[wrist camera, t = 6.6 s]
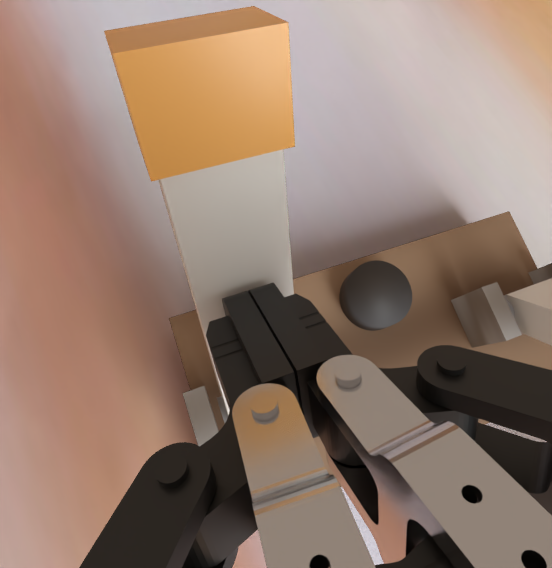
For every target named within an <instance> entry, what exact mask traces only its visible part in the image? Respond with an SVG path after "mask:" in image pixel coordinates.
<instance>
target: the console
mask: <svg viewBox="0 0 552 568" xmlns="http://www.w3.org/2000/svg"><path fill="white" fill-rule="evenodd" d="M550 278H552V263H551V264H549V265H546V266H544V267H541V268H539V269H537V267H536V265H535V263H534V261H533V259H532V257H531V255H530V253H529V250H528V248H527V246H526V244H525V242H524V240H523V238H522V236H521V234H520V232H519V230H518V228H517V226H516V224H515V222H514V220H513V218H512V216H511V214H510V212H505V213H502V214H499V215H496V216H493V217H489V218H486V219H483V220H480V221H477V222H474V223H470V224H467V225H464V226H461V227H458V228H454V229H451V230H448V231H445V232H442V233H439V234H435V235H432V236H429V237H426V238H423V239H419V240H416V241H413V242H410V243H407V244H404V245H400V246H397V247H394V248H391V249H388V250H384V251H381V252H378V253H375V254H372V255H369V256H365V257H362V258H359V259H356V260H353V261H350V262H346V263H343V264H340V265H337V266H334V267H330V268H327V269H324V270H321V271H318V272H315V273H311V274H308V275H305V276H302V277H299V278H295V279H293V289H294V294H298V295H300V296H302V297H304V298H306V299H308V300H310V301H311V302H312V303H313V305H314V306H315V307H316V308H317V310H318V311H319V314H321V315H322V316H323V317H324V319H325V320H326V323H327V322H328V324H329V325H330V326H331V327H332V329H333V330H334V331H335V333H336V334H337V335H338V336H339V338H340V339H341V340H342V341H343V343H344V344H345V345H346V346H347V348H348V349H349V350H350V351H351V353H352V354H353V355H357V356H361V357H364V358H366V359H368V360H370V361H371V362H372V363H374V364H375V365H376V366H377V367H378V368H401V367H411V366H417V361H418V358H419V356H420V355H421V354H422V353H423V352H424V351H425V350H427V349H429V348H431V347H434V346H439V345H453V346H458V347H462V348H466V349H470V350H474V351H478V352H482V353H486V354H490V355H494V356H498V357H502V358H506V359H510V360H514V361H518V362H522V363H526V364H530V365H533V366H537V367H541V368H545V369H549V370H552V346H551V345H549V344H547V343H544V342H542V341H540V340H537V339H535V338H533V337H530V336H528V335H525V334H523V333H521V331H520V329H519V327H518V325H517V323H516V321H515V319H514V316H513V314H512V312H511V310H510V308H509V306H508V304H507V302H506V300H505V297H504V295H506V294H509V293H512V292H515V291H517V290H520V289H523V288H526V287H528V286H531V285H534V284H537V283H539V282H542V281H545V280H548V279H550ZM169 320H170V324H171V327H172V330H173V334H174V337H175V340H176V343H177V347H178V350H179V353H180V357H181V360H182V363H183V366H184V370H185V373H186V376H187V380H188V383H189V386H190V389H191V390H190V391H188V392H185V393H183V397H184V400H185V403H186V407H187V410H188V413H189V417H190V420H191V423H192V427H193V430H194V433H195V437H196V440H197V443H198V446H199V447H200V446H201V445H202V444H204V443H205V442H206V441H208V440H209V439H211V438H212V437H213V436H214V435H216V434H217V433H218V432H219V431H220V430H221V428H222V427H223V426H224V424H225V423H224V420H223V417H222V413H221V410H220V407H219V404H218V401H217V398H218V397H220V396H221V393H220V390H219V386H218V383H217V379H216V376H215V372H214V369H213V366H212V362H211V359H210V355H209V352H208V348H207V345H206V342H205V338H204V335H203V331H202V328H201V324H200V321H199V318H198V314H197V311H196V310H194V311H190V312H187V313H184V314H181V315H178V316H175V317H171V318H169ZM478 423H481V424H484V425H485V424H487V423H489V422H488V421H485V420H482V419H479V421H478ZM313 439H314V441H315V444H316V446H317V449H318V451H319V453H320V456H321V458H322V460H323V463H324V465H325V467H326V470H327V472H328V473H329V475H331V474H332V475H334V473H333V471H332V470H331V468H330V467H329V465H328V463H327V459H326V451H325V446H324V445H323V443H322V441H321V439H320V437H319V436H318V437H316V438H313ZM334 477H335V478H336V476H335V475H334ZM336 480H337V481H338V479H337V478H336ZM338 483H339V485H340V487H342V486H341V484H340V482H339V481H338Z"/></svg>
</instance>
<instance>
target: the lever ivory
mask: <svg viewBox="0 0 552 568" xmlns="http://www.w3.org/2000/svg"><path fill="white" fill-rule="evenodd" d="M504 297H505V300H506V302H507V304H508V306H509V308H510V310H511V312H512V314H513V316H514V319H515V321H516V323H517V325H518V327H519V329H520V331H521V333H523V334H525V335H528V336H530V337H533V338H535V339H537V340H540V341H542V342H544V343H547V344H549V345H551V346H552V278H550V279H548V280H545V281H542V282H539V283H537V284H534V285H531V286H528V287H526V288H523V289H520V290H517V291H515V292H512V293H509V294H506V295H504Z"/></svg>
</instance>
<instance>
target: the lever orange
mask: <svg viewBox="0 0 552 568" xmlns="http://www.w3.org/2000/svg"><path fill="white" fill-rule="evenodd" d="M104 32H105V35H106V39H107V42H108V45H109V49H110V52H111V55H112V58H113V62H114V65H115V68H116V71H117V75H118V78H119V81H120V84H121V88H122V91H123V94H124V97H125V101H126V104H127V107H128V111H129V114H130V117H131V120H132V124H133V127H134V130H135V133H136V137H137V140H138V143H139V146H140V149H141V152H142V155H143V158H144V161H145V164H146V167H147V170H148V173H149V176H150V179H151V181H155V180H159V184H160V187H161V191H162V194H163V197H164V201H165V204H166V208H167V211H168V215H169V218H170V221H171V225H172V228H173V232H174V235H175V239H176V242H177V245H178V249H179V252H180V256H181V259H182V263H183V266H184V269H185V273H186V276H187V280H188V283H189V287H190V290H191V294H192V297H193V300H194V304H195V307H196V311H197V314H198V318H199V321H200V324H201V328H202V331H203V335H204V338H205V342H206V345H207V348H208V352H209V355H210V359H211V362H212V366H213V369H214V372H215V376H216V379H217V383H218V386H219V390H220V393H221V396H220V397H218V398H217V401H218V404H219V407H220V410H221V413H222V417H223V420H224V423H225V422H226V421H227V418H228V416H229V411H230V410H229V407H228V404H227V401H226V398H225V395H224V392H223V389H222V387H221V384H220V381H219V378H218V375H217V372H216V368H215V365H214V361H213V358H212V355H211V351H210V348H209V344H208V341H207V338H206V332H207V329H208V325H209V322H210V321H213V320H216V319H219V318H222V317H225V316H226V315H225V311H224V308H223V303H222V298H225V297H228V296H232V295H235V294H238V293H241V292H244V291H248V290H251V289H254V288H257V287H260V286H263V285H267V284H270V283H274V284H275V285H276V286H277V288H278V289H279V291H280V292H281V293H282V295H283V296H284V297H287V296H290V295H293V294H294V289H293V275H292V261H291V247H290V233H289V219H288V205H287V191H286V177H285V163H284V149H286V148H290V147H295V139H294V120H293V101H292V82H291V63H290V44H289V26H288V22H286V21H284V20H282V19H280V18H278V17H276V16H274V15H272V14H270V13H268V12H265V11H263V10H261V9H259V8H257V7H255V6H251V7H245V8H239V9H233V10H227V11H221V12H215V13H209V14H203V15H197V16H191V17H185V18H179V19H173V20H167V21H161V22H155V23H149V24H143V25H137V26H131V27H125V28H119V29H113V30H107V31H104Z"/></svg>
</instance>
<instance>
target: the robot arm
mask: <svg viewBox="0 0 552 568" xmlns="http://www.w3.org/2000/svg"><path fill="white" fill-rule="evenodd" d="M222 303H223V308H224V311H225V315H226V316H225V317H222V318H219V319H216V320H213V321H210V322H209V325H208V329H207V332H206V338H207V341H208V344H209V348H210V351H211V355H212V358H213V361H214V365H215V368H216V372H217V375H218V378H219V381H220V384H221V387H222V389H223V392H224V395H225V398H226V401H227V404H228V407H229V410H230V411H229V416H228V418H227V421H226V422H225V424H224V426H223V427H222V428H221V430H220V431H219V432H218V433H217V434H216V435H214V436H213V437H212V438H211V439H209V440H208V441H206V442H205V443H204V444H202V445H201V446H200V447H199V446H198V445H196V444H192V443H186V442H184V443H175V444H172V445H169V446H166V447H164V448H162V449H160V450H159V451H157V452H156V453H155V454H153V455H152V456H151V457H150V458H149V459H148V460H147V461H146V463H145V464H144V465H143V467H142V468H141V470H140V472H139V473H138V475H137V476H136V478H135V480H134V481H133V483H132V484H131V486H130V488H129V489H128V491H127V492H126V494H125V496H124V497H123V499H122V500H121V502H120V504H119V505H118V507H117V508H116V510H115V511H114V513H113V515H112V516H111V518H110V519H109V521H108V523H107V524H106V526H105V527H104V529H103V531H102V532H101V534H100V535H99V537H98V539H97V540H96V542H95V543H94V545H93V547H92V548H91V550H90V551H89V553H88V555H87V556H86V558H85V559H84V561H83V563H82V564H81V566H80V567H79V568H232V567H233V564H234V561H235V559H236V555H237V552H238V546H240V545H241V544H242V543H243V542H244V541H245V540H246V539H247V538H248V537H250V536H251V535H252V534H253V533H254V532H255V531H256V530H257V529H258V531H259V536H260V540H261V544H262V548H263V553H264V557H265V561H266V565H267V568H552V370H549V369H545V368H541V367H537V366H533V365H530V364H526V363H522V362H518V361H514V360H510V359H506V358H502V357H498V356H494V355H490V354H486V353H482V352H478V351H474V350H470V349H466V348H462V347H458V346H453V345H439V346H434V347H431V348H429V349H427V350H425V351H424V352H423V353H422V354H421V355H420V356H419V358H418V361H417V366H411V367H401V368H378V367H377V366H376V365H375V364H374V363H372V362H371V361H370V360H368V359H366V358H364V357H361V356H357V355H353V354H352V353H351V351H350V350H349V349H348V348H347V346H346V345H345V344H344V343H343V341H342V340H341V339H340V338H339V336H338V335H337V334H336V333H335V331H334V330H333V329H332V327H331V326H330V325H329V324H328V322H327V323H326V320H325V319H324V317H323V316H322V315H321V314H319V311H318V310H317V308H316V307H315V306H314V305H313V303H312V302H311V301H310V300H308V299H306V298H304V297H302V296H300V295H298V294H293V295H290V296H287V297H284V296H283V295H282V293H281V292H280V291H279V289H278V288H277V286H276V285H275V284H274V283H270V284H267V285H263V286H260V287H257V288H254V289H251V290H248V291H244V292H241V293H238V294H235V295H232V296H228V297H225V298H222ZM479 419H482V420H485V421H488V422H491V423H494V424H497V425H500V426H503V427H506V428H509V429H513V430H516V431H519V432H522V433H525V434H528V435H531V436H534V437H537V438H540V439H543V440H545V441H547V442H536V441H532V440H529V439H526V438H523V437H520V436H517V435H514V434H511V433H508V432H505V431H502V430H499V429H496V428H493V427H490V426H487V425H484V424H481V423H478V421H479ZM318 436H319V437H320V439H321V441H322V443H323V445H324V446H325V451H326V459H327V463H328V465H329V467H330V468H331V470H332V471H333V473H334V475H335V476H336V478H337V479H338V481H339V482H340V484H341V486H342V487H343V489H344V490H345V492H346V493H347V495H348V497H349V498H350V500H351V501H352V503H353V504H354V506H355V507H356V509H357V511H358V512H359V514H360V515H361V517H362V518H363V520H364V522H365V523H366V525H367V526H368V528H369V529H370V531H371V533H372V535H373V537H374V539H375V541H376V543H377V546H378V549H379V552H380V555H381V557H382V560H383V562H384V564H380V565H374V563H373V560H372V558H371V556H370V554H369V551H368V549H367V547H366V544H365V542H364V540H363V538H362V535H361V533H360V531H359V528H358V526H357V524H356V522H355V519H354V517H353V515H352V512H351V510H350V508H349V506H348V503H347V501H346V499H345V496H344V494H343V492H342V490H341V487H340V485H339V483H338V481H337V480H336V478H335V477H334V475H332V474H331V475H329V473H328V472H327V470H326V467H325V465H324V463H323V460H322V458H321V456H320V453H319V451H318V449H317V446H316V444H315V441H314V439H313V438H316V437H318Z"/></svg>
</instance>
